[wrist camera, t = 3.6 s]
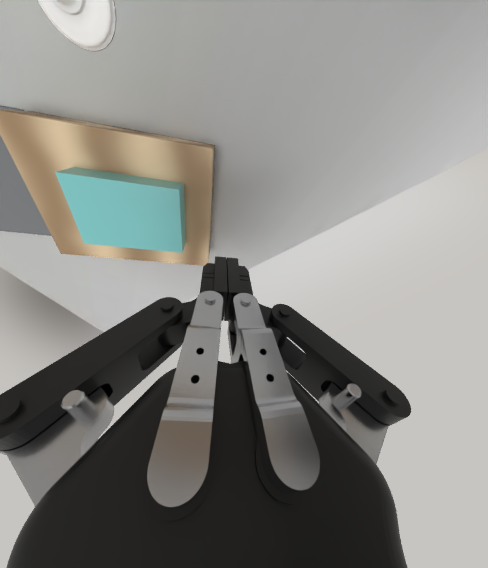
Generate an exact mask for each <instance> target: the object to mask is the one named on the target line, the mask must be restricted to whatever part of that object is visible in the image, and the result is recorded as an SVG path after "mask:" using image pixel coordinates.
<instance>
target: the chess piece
mask: <svg viewBox="0 0 488 568" xmlns="http://www.w3.org/2000/svg"><path fill="white" fill-rule="evenodd" d="M38 2H39V4H40V5H41V7H42V9H43V10H44V12H45V14H46V15H47V17H48V18H49V19H50V21H51V22H52V23H53V24H54V25H55V27H56V28H57V29H58V30H59V31H60V32H61V33H62V34H63V35H65V36H66V37H67V38H68V39H69V40H70V41H72V42H73V43H74V44H76V45H77V46H79V47H81V48H83V49H86V50H90V51H98V50H101V49H103V48H105V47H106V46H107V45H108V44H109V43H110V42H111V40H112V38H113V35H114V31H115V23H116V16H115V6H114V1H113V0H38Z"/></svg>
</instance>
